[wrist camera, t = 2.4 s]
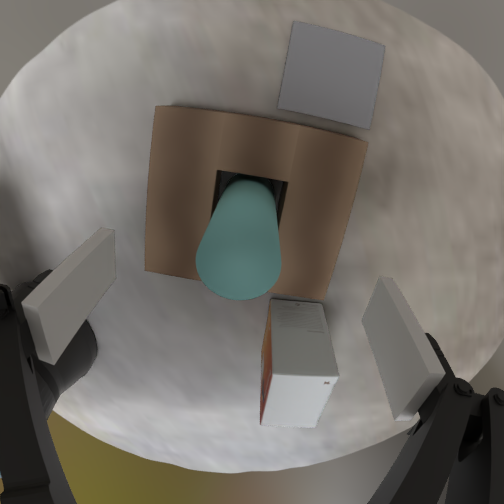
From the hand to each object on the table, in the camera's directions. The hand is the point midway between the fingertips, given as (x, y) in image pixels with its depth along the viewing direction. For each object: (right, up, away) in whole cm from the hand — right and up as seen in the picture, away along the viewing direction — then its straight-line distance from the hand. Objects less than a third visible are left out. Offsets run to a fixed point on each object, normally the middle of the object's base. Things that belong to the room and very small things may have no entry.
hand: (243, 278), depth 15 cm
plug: (0, +6, +13) cm, 15 cm away
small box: (+5, -7, +20) cm, 21 cm away
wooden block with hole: (0, +6, +13) cm, 15 cm away
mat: (+7, +16, +8) cm, 19 cm away
